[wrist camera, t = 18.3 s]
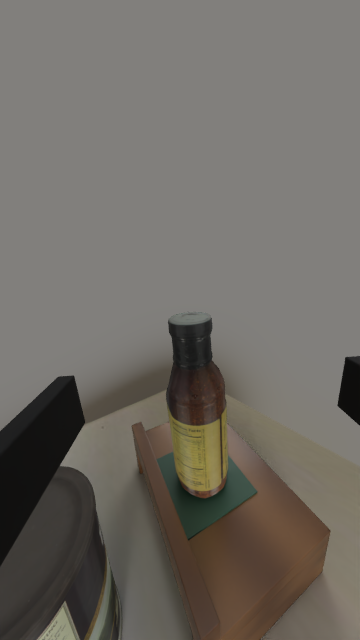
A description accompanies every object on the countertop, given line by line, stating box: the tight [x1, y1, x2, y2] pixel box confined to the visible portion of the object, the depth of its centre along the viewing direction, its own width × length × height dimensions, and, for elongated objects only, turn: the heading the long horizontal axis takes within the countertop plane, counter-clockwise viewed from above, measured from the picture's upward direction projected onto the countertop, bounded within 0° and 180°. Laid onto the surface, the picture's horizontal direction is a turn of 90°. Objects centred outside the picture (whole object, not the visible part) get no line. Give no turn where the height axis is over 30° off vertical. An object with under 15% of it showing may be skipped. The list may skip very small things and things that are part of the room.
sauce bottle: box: [166, 312, 228, 498], centre depth 21 cm, size 6×6×20 cm
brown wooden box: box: [132, 422, 330, 640], centre depth 25 cm, size 14×20×8 cm
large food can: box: [0, 466, 122, 640], centre depth 15 cm, size 10×10×14 cm
